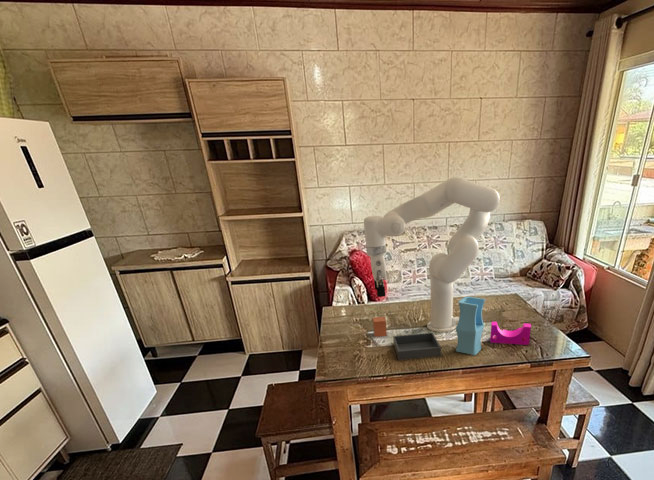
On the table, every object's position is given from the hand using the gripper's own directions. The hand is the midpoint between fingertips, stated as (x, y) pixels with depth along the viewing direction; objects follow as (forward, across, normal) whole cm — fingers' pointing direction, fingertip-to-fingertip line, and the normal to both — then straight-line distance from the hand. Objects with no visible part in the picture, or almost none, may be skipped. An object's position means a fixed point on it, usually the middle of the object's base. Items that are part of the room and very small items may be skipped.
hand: (380, 292), depth 166 cm
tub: (+18, -20, -11) cm, 29 cm away
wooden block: (+18, -1, +2) cm, 18 cm away
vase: (+19, -24, -31) cm, 43 cm away
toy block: (+19, -20, -49) cm, 56 cm away
